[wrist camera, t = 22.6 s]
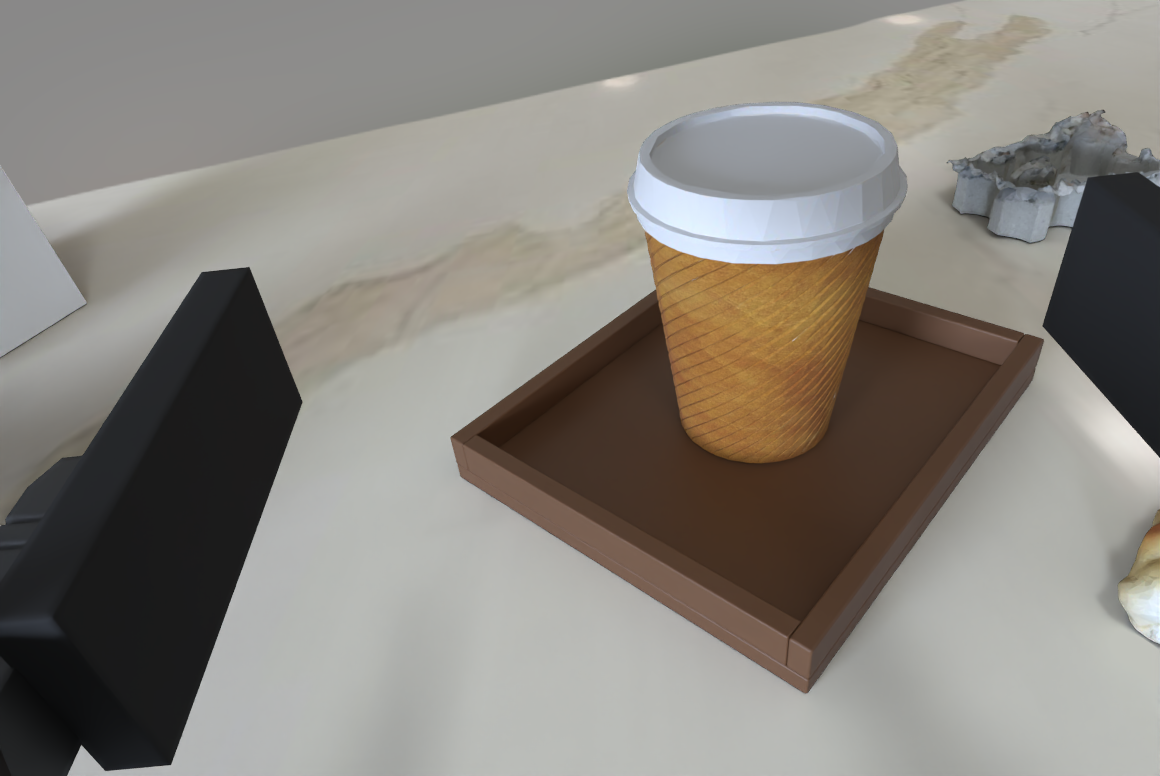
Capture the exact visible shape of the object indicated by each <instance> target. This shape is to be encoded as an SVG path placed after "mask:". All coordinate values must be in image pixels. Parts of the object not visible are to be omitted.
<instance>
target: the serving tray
mask: <svg viewBox="0 0 1160 776" xmlns="http://www.w3.org/2000/svg"><path fill="white" fill-rule="evenodd" d="M1043 342H1044V339H1042V338H1038V337H1035V336H1032V335H1028V334H1025V335H1024V333H1021V332H1018V331H1015V330H1011V329H1008V328H1005V327H1001V326H998V325H994V324H991V323H988V322H984V321H981V320H978V319H974V318H971V317H967V316H964V315H961V314H957V313H954V312H950V311H947V310H944V309H940V308H937V307H934V306H930V305H927V304H923V303H920V302H917V301H913V300H910V299H907V298H903V297H900V296H896V295H893V294H890V293H886V292H883V291H879V290H876V289H873V288H869V287H868V289H867V292H866V296H865V300H864V303H863V306H862V310H861V314H860V317H859V320H858V323H857V327H856V331H855V334H854V338H853V342H852V345H851V348H850V353H849V356H848V359H847V362H846V366H845V369H844V372H843V376H842V380H841V383H840V386H839V390H838V393H837V396H836V400H835V404H834V407H833V410H832V414H831V417H830V421H829V426H828V430H827V431H826V433H825V435H824V437H823V438H822V439H821V441H820V442H819V443H818V444H817V445H816V446H815V447H813V448H811V449H810V450H808V451H807V452H805V453H804V454H801V455H799V456H796V457H794V458H791V459H787V460H783V461H779V462H770V463H745V462H739V461H732V460H728V459H725V458H722V457H719V456H716V455H714V454H712V453H710V452H708V451H706V450H704V449H703V448H701V447H700V446H699V445H697V444H696V443H694V442H693V441H692V439H691V438H690V437H689V436H688V435H687V433H686V431H685V430H684V428H683V426H682V424H681V419H680V410H679V407H678V401H677V395H676V390H675V385H674V381H673V375H672V370H671V364H670V359H669V352H668V349H667V345H666V338H665V334H664V328H663V323H662V318H661V312H660V308H659V301H658V299H657V292H656V290H654V291H653V292H652V293H650V294H649V295H647V296H646V297H645V298H643V299H642V300H640V301H639V302H638V303H636V304H635V305H634V306H632V307H631V308H629V309H628V310H627V311H625V312H624V313H622V314H621V315H620V316H618V317H617V318H615V319H614V320H613V321H611V322H610V323H608V324H607V325H606V326H604V327H603V328H602V329H600V330H599V331H597V332H596V333H595V334H593V335H592V336H590V337H589V338H588V339H586V340H585V341H583V342H582V343H581V344H579V345H578V346H577V347H575V348H574V349H572V350H571V351H570V352H568V353H567V354H565V355H564V356H563V357H561V358H560V359H558V360H557V361H556V362H554V363H553V364H551V365H550V366H549V367H547V368H546V369H545V370H543V371H542V372H540V373H539V374H538V375H536V376H535V377H533V378H532V379H531V380H529V381H528V382H526V383H525V384H524V385H522V386H521V387H519V388H518V389H517V390H515V391H514V392H513V393H511V394H510V395H508V396H507V397H506V398H504V399H503V400H501V401H500V402H499V403H497V404H496V405H494V406H493V407H492V408H490V409H489V410H487V411H486V412H485V413H483V414H482V415H481V416H479V417H478V418H476V419H475V420H474V421H472V422H471V423H469V424H468V425H467V426H465V427H464V428H462V429H461V430H460V431H458V432H457V433H455V434H454V435H453V436H451V442H452V446H453V450H454V453H455V457H456V461H457V463H458V468H459V472H460V476H461V477H462V478H464V479H466V480H467V481H469V482H470V483H472V484H473V485H475V486H477V487H478V488H480V489H481V490H483V491H485V492H486V493H488V494H489V495H491V496H493V497H494V498H496V499H497V500H499V501H500V502H502V503H504V504H505V505H507V506H508V507H510V508H512V509H513V510H515V511H516V512H518V513H520V514H521V515H523V516H524V517H526V518H527V519H529V520H531V521H532V522H534V523H535V524H537V525H539V526H540V527H542V528H543V529H545V530H546V531H548V532H550V533H551V534H553V535H554V536H556V537H558V538H559V539H561V540H562V541H564V542H566V543H567V544H569V545H570V546H572V547H573V548H575V549H577V550H578V551H580V552H581V553H583V554H585V555H586V556H588V557H589V558H591V559H593V560H594V561H596V562H597V563H599V564H600V565H602V566H604V567H605V568H607V569H608V570H610V571H612V572H613V573H615V574H616V575H618V576H620V577H621V578H623V579H624V580H626V581H627V582H629V583H631V584H632V585H634V586H635V587H637V588H639V589H640V590H642V591H643V592H645V593H647V594H648V595H650V596H651V597H653V598H654V599H656V600H658V601H659V602H661V603H662V604H664V605H666V606H667V607H669V608H670V609H672V610H674V611H675V612H677V613H678V614H680V615H681V616H683V617H685V618H686V619H688V620H689V621H691V622H693V623H694V624H696V625H697V626H699V627H700V628H702V629H704V630H705V631H707V632H708V633H710V634H712V635H713V636H715V637H716V638H718V639H720V640H721V641H723V642H724V643H726V644H727V645H729V646H731V647H732V648H734V649H735V650H737V651H739V652H740V653H742V654H743V655H745V656H747V657H748V658H750V659H751V660H753V661H754V662H756V663H758V664H759V665H761V666H762V667H764V668H766V669H767V670H769V671H770V672H772V673H774V674H775V675H777V676H778V677H780V678H781V679H783V680H785V681H786V682H788V683H789V684H791V685H793V686H794V687H796V688H797V689H799V690H801V691H802V692H804V693H808V692H809V690H810V689H811V688H812V686H813V685H814V683H815V682H816V681H817V679H818V678H819V676H820V675H821V674H822V672H823V671H824V670H825V668H826V667H827V665H828V664H829V663H830V661H831V660H832V658H833V657H834V656H835V654H836V653H837V651H838V650H839V649H840V647H841V646H842V644H843V643H844V642H845V640H846V639H847V637H848V636H849V635H850V633H851V632H852V631H853V629H854V628H855V626H856V625H857V624H858V622H859V621H860V619H861V618H862V617H863V615H864V614H865V612H866V611H867V610H868V608H869V607H870V605H871V604H872V603H873V601H874V600H875V599H876V597H877V596H878V594H879V593H880V592H881V590H882V589H883V587H884V586H885V585H886V583H887V582H888V580H889V579H890V578H891V576H892V575H893V573H894V572H895V571H896V569H897V568H898V567H899V565H900V564H901V562H902V561H903V560H904V558H905V557H906V555H907V554H908V553H909V551H910V550H911V548H912V547H913V546H914V544H915V543H916V541H917V540H918V539H919V537H920V536H921V534H922V533H923V532H924V530H925V529H926V528H927V526H928V525H929V523H930V522H931V521H932V519H933V518H934V516H935V515H936V514H937V512H938V511H939V509H940V508H941V507H942V505H943V504H944V502H945V501H946V500H947V498H948V497H949V496H950V494H951V493H952V491H953V490H954V489H955V487H956V486H957V484H958V483H959V482H960V480H961V479H962V477H963V476H964V475H965V473H966V472H967V470H968V469H969V468H970V466H971V465H972V463H973V462H974V461H975V459H976V458H977V457H978V455H979V454H980V452H981V451H982V450H983V448H984V447H985V445H986V444H987V443H988V441H989V440H990V438H991V437H992V436H993V434H994V433H995V431H996V430H997V429H998V427H999V426H1000V425H1001V423H1002V422H1003V420H1004V419H1005V418H1006V416H1007V415H1008V413H1009V412H1010V411H1011V409H1012V408H1013V406H1014V405H1015V404H1016V402H1017V401H1018V399H1019V398H1020V397H1021V395H1022V394H1023V392H1024V391H1025V390H1026V388H1027V387H1028V386H1029V384H1030V383H1031V381H1032V379H1033V376H1034V373H1035V367H1036V366H1037V362H1038V359H1039V356H1040V352H1041V349H1042V346H1043Z"/></svg>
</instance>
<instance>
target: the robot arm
mask: <svg viewBox="0 0 1160 776" xmlns="http://www.w3.org/2000/svg"><path fill="white" fill-rule="evenodd" d="M1043 327H1044V328H1045V329H1046V331H1047V332H1048V333H1049V334H1050V335H1051V336H1052V337H1053V338H1054V340H1055V341H1056V342H1057V343H1058V344H1059V345H1060V346H1061V347H1062V349H1063V350H1064V351H1065V352H1066V353H1067V354H1068V355H1069V356H1070V358H1071V359H1072V360H1073V361H1074V362H1075V363H1076V364H1077V365H1078V366H1079V368H1080V369H1081V370H1082V371H1083V372H1084V373H1085V374H1086V375H1087V377H1088V378H1089V379H1090V380H1091V381H1092V382H1093V383H1094V384H1095V386H1096V387H1097V388H1098V389H1099V390H1100V391H1101V392H1102V393H1103V395H1104V396H1105V397H1106V398H1107V399H1108V400H1109V401H1110V402H1111V403H1112V405H1113V406H1114V407H1115V408H1116V409H1117V410H1118V411H1119V412H1120V414H1121V415H1122V416H1123V417H1124V418H1125V419H1126V420H1127V421H1128V423H1129V424H1130V425H1131V426H1132V427H1133V428H1134V429H1135V430H1136V432H1137V433H1138V434H1139V435H1140V436H1141V437H1142V438H1143V439H1144V441H1145V442H1146V443H1147V444H1148V445H1149V446H1150V447H1151V448H1152V449H1153V451H1154V452H1155V453H1156V454H1157V455H1158V456H1159V457H1160V187H1159V186H1158V185H1156V184H1155V183H1153V182H1152V181H1150V180H1149V179H1147V178H1146V177H1145V176H1143V175H1142V174H1140V173H1139V172H1133V173H1124V174H1115V175H1105V176H1096V177H1088V178H1087V181H1086V185H1085V188H1084V191H1083V195H1082V198H1081V201H1080V204H1079V208H1078V211H1077V214H1076V218H1075V221H1074V224H1073V227H1072V231H1071V234H1070V237H1069V241H1068V244H1067V247H1066V250H1065V254H1064V257H1063V260H1062V264H1061V267H1060V270H1059V273H1058V277H1057V280H1056V283H1055V287H1054V290H1053V293H1052V296H1051V300H1050V303H1049V306H1048V310H1047V313H1046V316H1045V319H1044V323H1043ZM301 405H302V400H301V397H300V394H299V392H298V389H297V387H296V384H295V382H294V379H293V377H292V374H291V372H290V369H289V367H288V364H287V361H286V359H285V356H284V354H283V351H282V349H281V346H280V344H279V341H278V339H277V336H276V334H275V331H274V328H273V326H272V323H271V321H270V318H269V316H268V313H267V311H266V308H265V306H264V303H263V301H262V298H261V295H260V293H259V290H258V288H257V285H256V283H255V280H254V278H253V275H252V273H251V270H250V268H249V267H246V268H237V269H228V270H218V271H209V272H202V273H201V274H200V276H199V277H198V279H197V280H196V282H195V283H194V285H193V286H192V288H191V290H190V291H189V293H188V294H187V296H186V297H185V299H184V300H183V302H182V303H181V305H180V306H179V308H178V310H177V311H176V313H175V314H174V316H173V317H172V319H171V320H170V322H169V323H168V325H167V326H166V328H165V330H164V331H163V333H162V334H161V336H160V337H159V339H158V340H157V342H156V343H155V345H154V346H153V348H152V350H151V351H150V353H149V354H148V356H147V357H146V359H145V360H144V362H143V363H142V365H141V366H140V368H139V370H138V371H137V373H136V374H135V376H134V377H133V379H132V380H131V382H130V383H129V385H128V386H127V388H126V390H125V391H124V393H123V394H122V396H121V397H120V399H119V400H118V402H117V403H116V405H115V407H114V408H113V410H112V411H111V413H110V414H109V416H108V417H107V419H106V420H105V422H104V423H103V425H102V427H101V428H100V430H99V431H98V433H97V434H96V436H95V437H94V439H93V440H92V442H91V443H90V445H89V447H88V448H87V450H86V451H85V453H84V454H83V456H76V457H66V458H62V459H60V460H59V461H58V462H57V463H56V464H54V465H53V466H52V467H51V468H50V469H49V470H47V471H46V472H45V473H44V474H43V475H41V476H40V477H39V478H38V479H37V480H36V481H34V482H33V483H32V484H31V485H30V486H28V487H27V489H26V490H25V492H24V493H23V495H22V496H21V497H20V499H19V500H18V502H17V503H16V505H15V506H14V507H13V509H12V510H11V512H10V513H9V515H8V516H7V517H6V519H5V520H6V525H2V526H0V776H67V775H68V772H69V770H70V768H71V766H72V764H73V762H74V759H75V757H76V755H77V753H78V751H79V749H80V746H81V745H82V746H83V747H84V748H85V749H86V750H87V751H88V752H89V754H90V755H91V756H92V757H93V758H94V759H95V760H96V761H97V762H98V763H99V764H100V766H101V767H102V768H103V769H104V770H105V771H110V770H121V769H132V768H143V767H153V766H164V765H171V763H172V761H173V758H174V755H175V752H176V750H177V747H178V744H179V741H180V739H181V736H182V733H183V730H184V728H185V725H186V722H187V719H188V716H189V714H190V711H191V708H192V705H193V703H194V700H195V697H196V694H197V692H198V689H199V686H200V683H201V681H202V678H203V675H204V672H205V670H206V667H207V664H208V661H209V659H210V656H211V653H212V650H213V648H214V645H215V642H216V639H217V637H218V634H219V631H220V628H221V625H222V623H223V620H224V617H225V614H226V612H227V609H228V606H229V603H230V601H231V598H232V595H233V592H234V590H235V587H236V584H237V581H238V579H239V576H240V573H241V570H242V568H243V565H244V562H245V559H246V557H247V554H248V551H249V548H250V545H251V543H252V540H253V537H254V534H255V532H256V529H257V526H258V523H259V521H260V518H261V515H262V512H263V510H264V507H265V504H266V501H267V499H268V496H269V493H270V490H271V488H272V485H273V482H274V479H275V477H276V474H277V471H278V468H279V465H280V463H281V460H282V457H283V454H284V452H285V449H286V446H287V443H288V441H289V438H290V435H291V432H292V430H293V427H294V424H295V421H296V419H297V416H298V413H299V410H300V408H301Z"/></svg>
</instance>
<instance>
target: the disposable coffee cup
mask: <svg viewBox="0 0 1160 776" xmlns="http://www.w3.org/2000/svg"><path fill="white" fill-rule="evenodd" d="M907 188H908V186H907V177H906V175H905V173H904V172H903V170H902V169H901V167H900V166H899V159H898V147H897V144H896V141H895V139H894V137H893V135H892V133H891V132H890V131H888V130H887V129H886V128H885V127H883V126H882V125H881V124H880V123H878V122H877V121H874V120H872V119H870V118H867V117H865V116H862V115H860V114H857V113H855V112H852V111H847V110H843V109H839V108H834V107H830V106H825V105H817V104H808V103H798V102H766V103H749V104H736V105H730V106H724V107H717V108H712V109H708V110H704V111H700V112H696V113H693V114H689V115H686V116H683V117H680V118H678V119H676V120H674V121H671V122H669V123H667V124H666V125H664V126H662V127H660V128H659V129H657V130H655V131H654V132H653V133H652V134H651V135H650V136H649V137H648V138H647V139H646V140H645V141H644V142H643V144H642V146H641V149H640V151H639V156H638V162H637V168H636V171H635V172H634V173H633V175H632V176H631V177H630V179H629V184H628V189H627V193H628V199H629V202H630V204H631V207H632V209H633V211H634V212H635V213H636V214H637V218H638V221H639V222H640V223H641V225H642V226H643V228H644V229H645V235H646V239H647V243H648V251H649V255H650V258H651V266H652V270H653V273H654V274H653V277H654V282H655V285H656V292H657V299H658V301H659V308H660V312H661V318H662V323H663V328H664V334H665V338H666V345H667V349H668V352H669V359H670V364H671V370H672V375H673V381H674V385H675V390H676V395H677V401H678V407H679V410H680V419H681V424H682V426H683V428H684V430H685V431H686V433H687V435H688V436H689V437H690V438H691V439H692V441H693V442H694V443H696V444H697V445H699V446H700V447H701V448H703V449H704V450H706V451H708V452H710V453H712V454H714V455H716V456H719V457H722V458H725V459H728V460H732V461H739V462H745V463H770V462H779V461H783V460H787V459H791V458H794V457H796V456H799V455H801V454H804V453H805V452H807V451H808V450H810V449H811V448H813V447H815V446H816V445H817V444H818V443H819V442H820V441H821V439H822V438H823V437H824V435H825V433H826V431H827V430H828V426H829V421H830V417H831V414H832V410H833V407H834V404H835V400H836V396H837V393H838V390H839V386H840V383H841V380H842V376H843V372H844V369H845V366H846V362H847V359H848V356H849V353H850V348H851V345H852V342H853V338H854V334H855V331H856V327H857V323H858V320H859V317H860V314H861V310H862V306H863V303H864V300H865V296H866V292H867V289H868V286H869V282H870V278H871V275H872V272H873V269H874V264H875V261H876V258H877V255H878V250H879V247H880V244H881V241H882V237H883V233H884V229H885V228H886V226H887V225H888V224H889V223H890V222H891V221H892V218H893V215H894V213H895V212H896V211H897V210H898V209H899V208H900V207H901V205H902V203H903V201H904V198H905V196H906V192H907Z"/></svg>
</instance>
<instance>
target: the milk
mask: <svg viewBox="0 0 1160 776" xmlns="http://www.w3.org/2000/svg"><path fill="white" fill-rule="evenodd" d="M86 303H87V302H86V301H85V299H84V298H83V296H82V294H81V293H80V291H79V290H78V288H77V286H76V285H75V283H74V282H73V280H72V278H71V277H70V275H69V274H68V272H67V270H66V269H65V267H64V266H63V264H62V262H61V261H60V259H59V258H58V256H57V254H56V253H55V251H54V250H53V248H52V246H51V245H50V243H49V242H48V240H47V238H46V237H45V235H44V234H43V232H42V231H41V229H40V227H39V226H38V224H37V223H36V221H35V219H34V218H33V216H32V215H31V213H30V211H29V210H28V208H27V207H26V205H25V203H24V202H23V200H22V199H21V197H20V196H19V194H18V192H17V191H16V189H15V187H14V186H13V184H12V183H11V181H10V179H9V178H8V176H7V175H6V173H5V171H4V170H3V168H2V167H1V165H0V357H2V356H3V355H5V354H6V353H8V352H10V351H11V350H13V349H14V348H16V347H18V346H19V345H21V344H22V343H24V342H26V341H27V340H29V339H30V338H32V337H34V336H35V335H37V334H38V333H40V332H42V331H43V330H45V329H46V328H48V327H50V326H51V325H53V324H54V323H56V322H57V321H59V320H61V319H62V318H64V317H65V316H67V315H69V314H70V313H72V312H73V311H75V310H77V309H78V308H80V307H81V306H83V305H85V304H86Z"/></svg>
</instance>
